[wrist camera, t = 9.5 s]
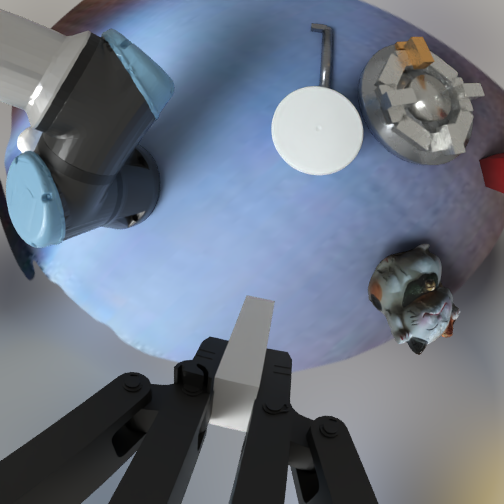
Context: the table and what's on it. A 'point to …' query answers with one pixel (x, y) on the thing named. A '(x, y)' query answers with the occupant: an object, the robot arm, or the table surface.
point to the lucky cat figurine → (413, 297)
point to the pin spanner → (325, 53)
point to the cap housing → (423, 112)
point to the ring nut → (396, 100)
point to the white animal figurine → (28, 139)
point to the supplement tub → (317, 130)
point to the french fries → (493, 171)
